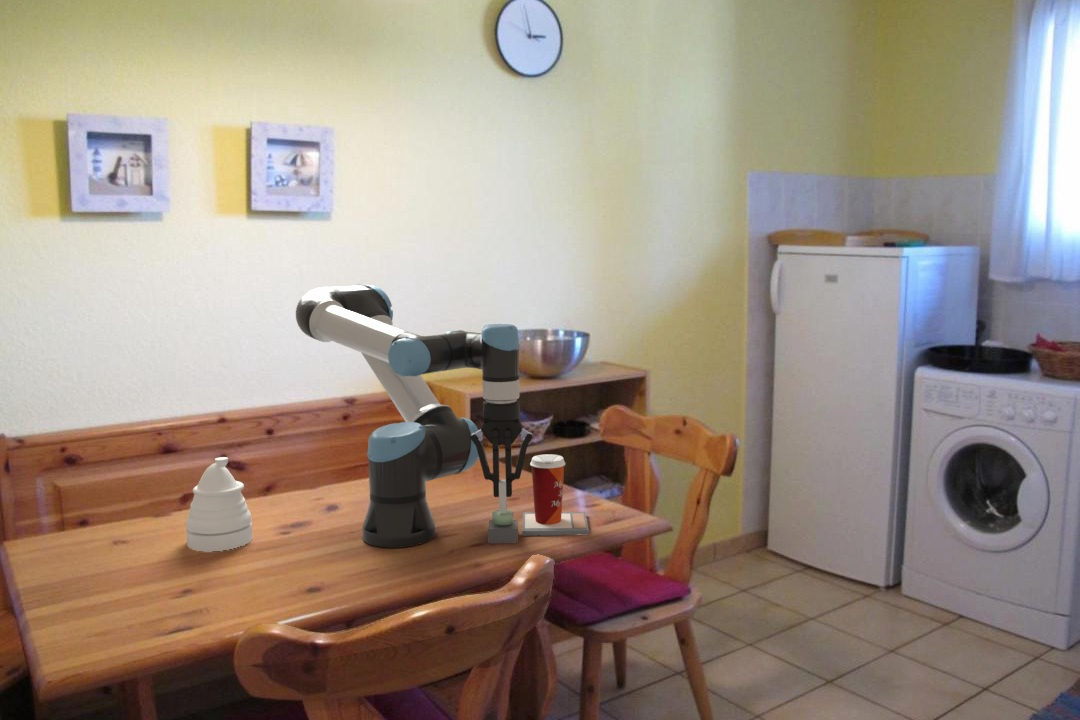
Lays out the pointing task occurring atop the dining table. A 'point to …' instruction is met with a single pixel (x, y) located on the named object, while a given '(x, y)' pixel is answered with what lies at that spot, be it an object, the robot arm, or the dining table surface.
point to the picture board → (556, 525)
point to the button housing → (503, 533)
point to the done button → (502, 518)
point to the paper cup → (548, 487)
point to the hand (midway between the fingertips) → (503, 511)
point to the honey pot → (218, 512)
